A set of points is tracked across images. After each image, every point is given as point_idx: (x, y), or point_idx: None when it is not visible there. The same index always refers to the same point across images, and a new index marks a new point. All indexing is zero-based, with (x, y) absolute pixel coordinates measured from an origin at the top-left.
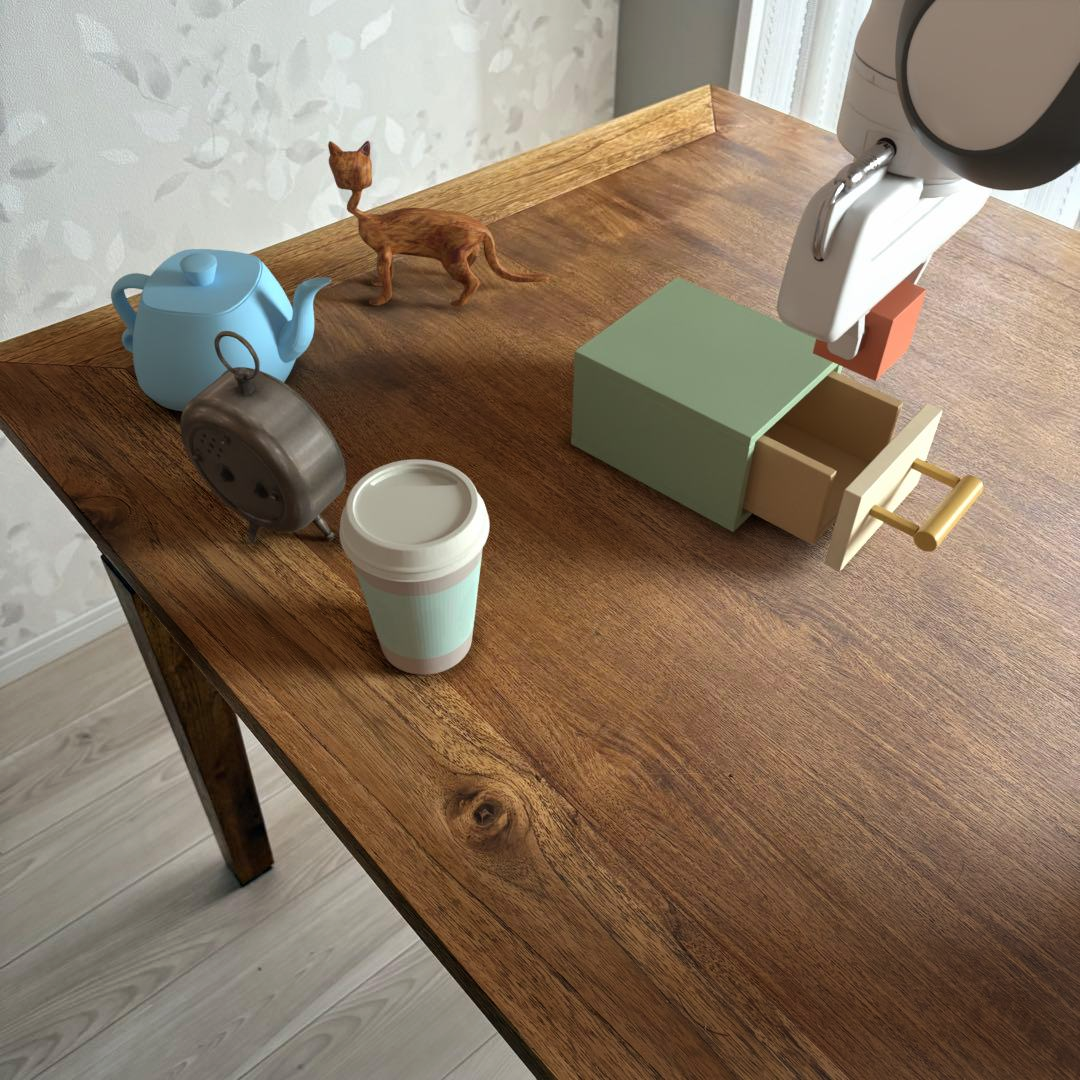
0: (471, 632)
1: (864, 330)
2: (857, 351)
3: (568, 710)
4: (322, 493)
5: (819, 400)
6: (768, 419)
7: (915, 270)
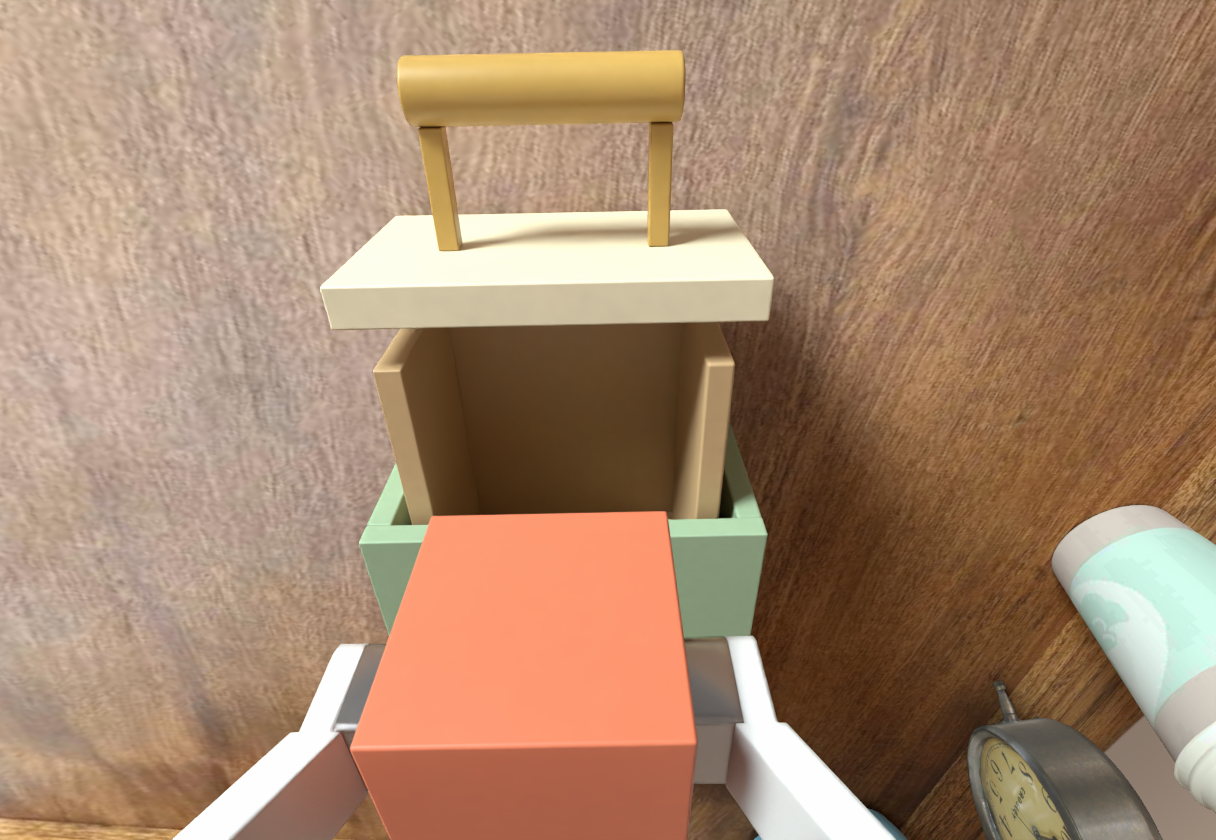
0: (1136, 530)
1: (717, 725)
2: (732, 651)
3: (1179, 368)
4: (1088, 767)
5: (450, 480)
6: (689, 539)
7: (274, 813)
